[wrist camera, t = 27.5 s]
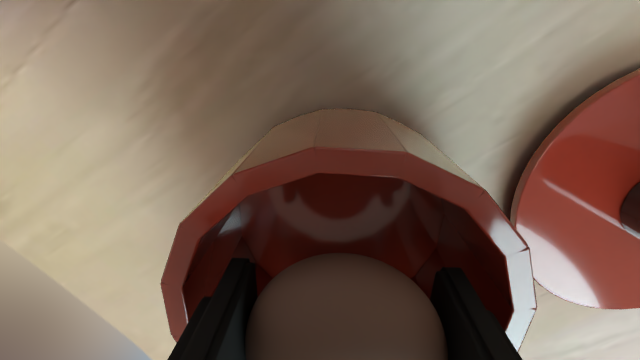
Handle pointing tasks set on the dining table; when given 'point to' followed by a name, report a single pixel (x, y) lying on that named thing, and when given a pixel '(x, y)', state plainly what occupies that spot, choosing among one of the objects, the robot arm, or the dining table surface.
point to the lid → (587, 201)
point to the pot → (351, 216)
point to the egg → (343, 314)
